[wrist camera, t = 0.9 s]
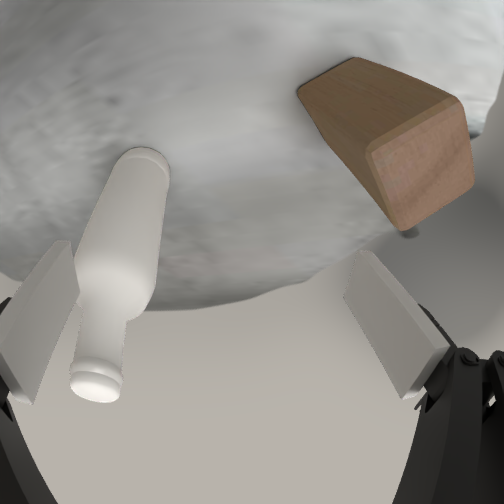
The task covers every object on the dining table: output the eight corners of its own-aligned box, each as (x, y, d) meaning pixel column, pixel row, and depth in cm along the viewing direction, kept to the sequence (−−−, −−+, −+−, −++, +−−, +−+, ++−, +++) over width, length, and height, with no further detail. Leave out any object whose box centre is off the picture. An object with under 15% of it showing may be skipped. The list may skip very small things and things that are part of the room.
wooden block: (384, 113, 37) (479, 187, 22) (327, 146, 40) (400, 239, 25) (356, 53, 31) (465, 96, 16) (292, 89, 34) (367, 153, 19)
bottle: (123, 138, 34) (31, 355, 13) (178, 155, 38) (161, 384, 16) (109, 189, 39) (47, 399, 17) (160, 203, 42) (141, 418, 20)
